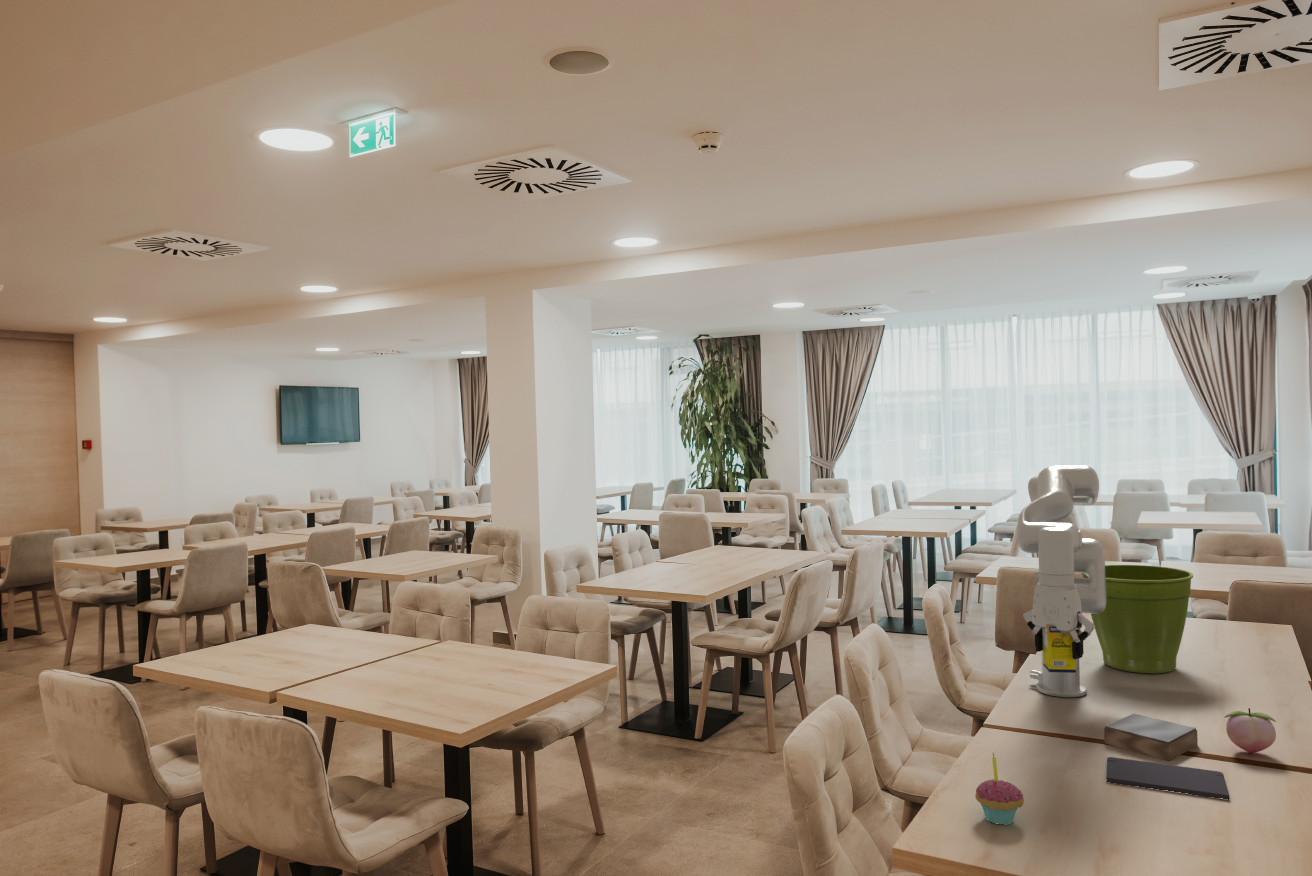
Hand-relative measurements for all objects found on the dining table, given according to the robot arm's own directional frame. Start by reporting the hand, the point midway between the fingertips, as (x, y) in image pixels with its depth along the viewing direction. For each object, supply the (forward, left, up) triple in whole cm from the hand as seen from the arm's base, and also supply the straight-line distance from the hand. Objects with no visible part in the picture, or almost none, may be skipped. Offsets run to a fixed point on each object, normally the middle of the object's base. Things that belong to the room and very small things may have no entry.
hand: (1058, 653), depth 201 cm
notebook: (+25, -5, -21) cm, 33 cm away
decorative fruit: (+30, +24, -21) cm, 44 cm away
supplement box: (0, 0, -4) cm, 4 cm away
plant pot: (-18, +76, -21) cm, 80 cm away
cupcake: (+14, -47, -21) cm, 54 cm away
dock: (+14, +13, -20) cm, 28 cm away
